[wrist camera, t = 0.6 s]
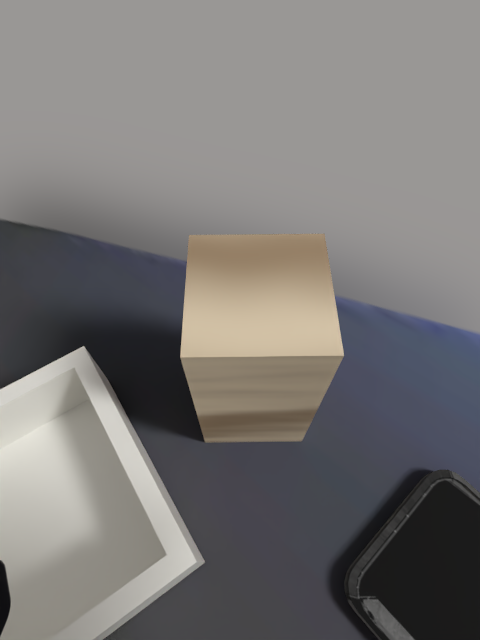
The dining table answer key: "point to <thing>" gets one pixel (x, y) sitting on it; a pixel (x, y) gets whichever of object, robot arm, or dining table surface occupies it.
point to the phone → (423, 566)
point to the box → (81, 508)
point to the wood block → (258, 334)
